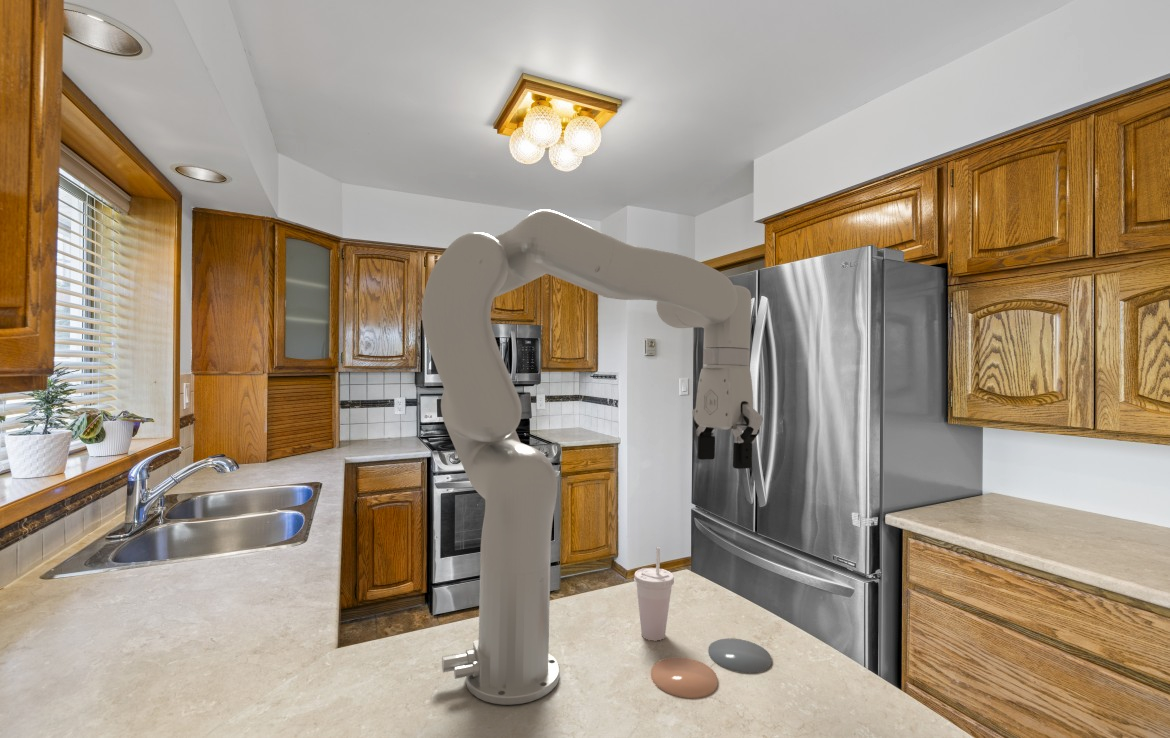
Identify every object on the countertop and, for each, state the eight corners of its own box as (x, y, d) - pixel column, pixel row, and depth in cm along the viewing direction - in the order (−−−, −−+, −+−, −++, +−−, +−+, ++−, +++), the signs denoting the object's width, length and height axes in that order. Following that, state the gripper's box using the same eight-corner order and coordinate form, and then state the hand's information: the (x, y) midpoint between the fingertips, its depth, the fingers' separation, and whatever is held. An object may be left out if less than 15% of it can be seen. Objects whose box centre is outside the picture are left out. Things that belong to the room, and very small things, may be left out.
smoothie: (672, 647, 80) (674, 555, 80) (630, 642, 81) (632, 552, 82) (674, 628, 86) (675, 543, 86) (635, 623, 87) (636, 540, 88)
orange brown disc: (673, 706, 66) (673, 700, 66) (639, 669, 74) (639, 664, 74) (731, 692, 69) (731, 685, 69) (692, 658, 78) (693, 652, 78)
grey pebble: (734, 681, 72) (734, 675, 72) (696, 649, 80) (696, 644, 80) (785, 668, 75) (785, 663, 75) (743, 639, 84) (743, 634, 84)
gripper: (678, 360, 94) (675, 456, 93) (741, 357, 78) (738, 473, 77) (713, 363, 97) (711, 455, 96) (781, 360, 80) (778, 471, 80)
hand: (723, 463), depth 87 cm, fingers open, 9 cm apart
